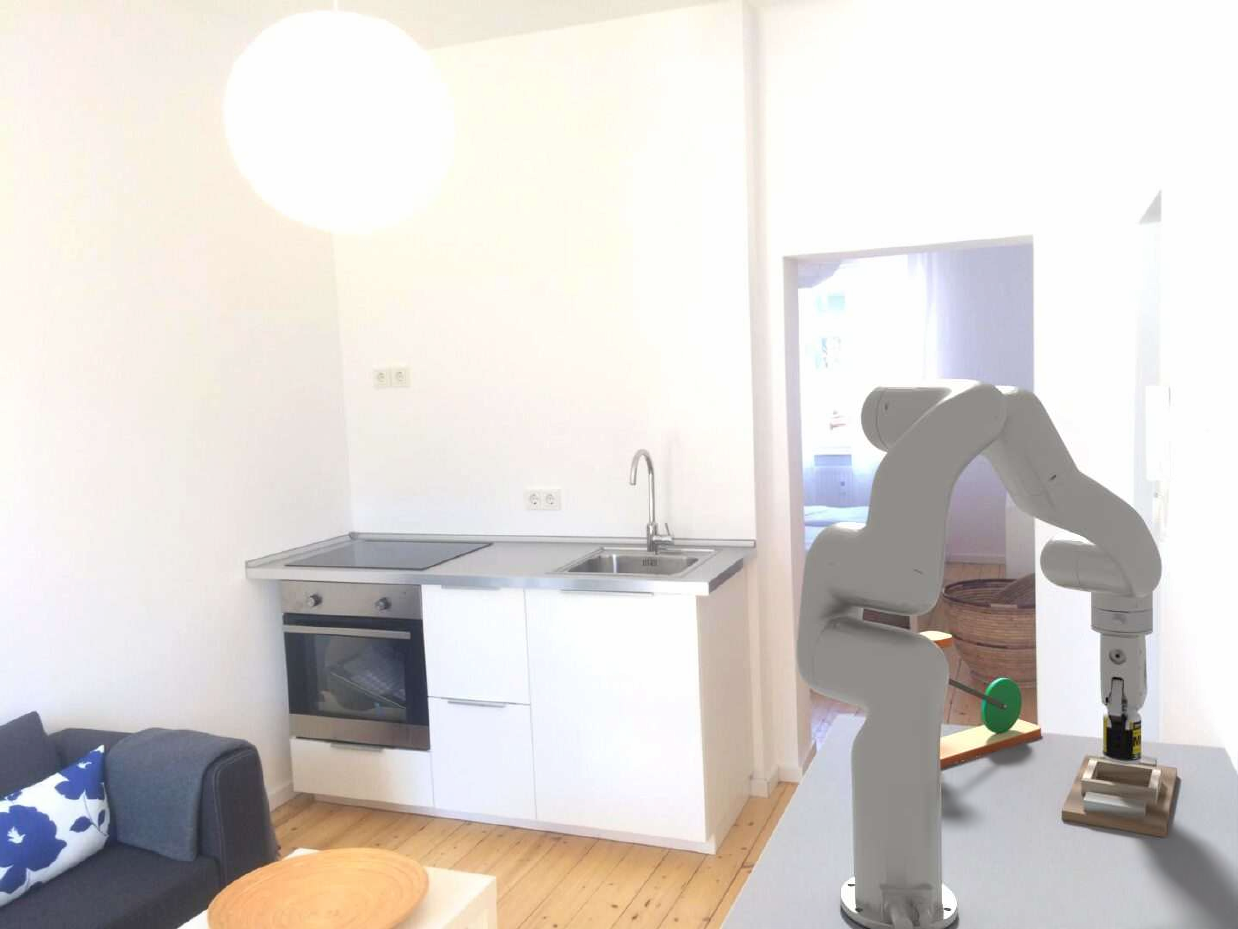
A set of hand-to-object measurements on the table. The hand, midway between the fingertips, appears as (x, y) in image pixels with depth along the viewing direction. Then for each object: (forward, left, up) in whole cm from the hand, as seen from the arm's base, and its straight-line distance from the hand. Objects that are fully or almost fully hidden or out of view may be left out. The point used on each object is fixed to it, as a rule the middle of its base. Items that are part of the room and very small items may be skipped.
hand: (1122, 748), depth 141 cm
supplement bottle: (0, 0, -2) cm, 2 cm away
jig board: (0, 0, -7) cm, 7 cm away
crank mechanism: (+20, +14, -7) cm, 26 cm away
